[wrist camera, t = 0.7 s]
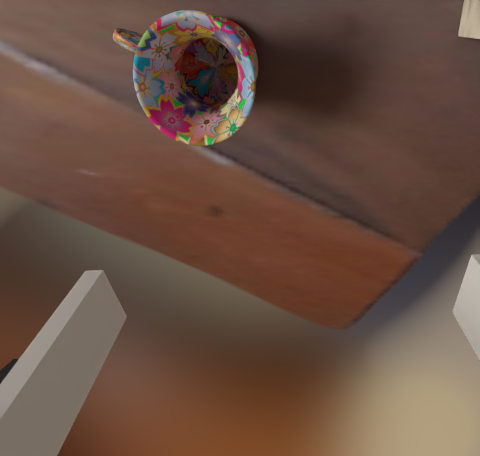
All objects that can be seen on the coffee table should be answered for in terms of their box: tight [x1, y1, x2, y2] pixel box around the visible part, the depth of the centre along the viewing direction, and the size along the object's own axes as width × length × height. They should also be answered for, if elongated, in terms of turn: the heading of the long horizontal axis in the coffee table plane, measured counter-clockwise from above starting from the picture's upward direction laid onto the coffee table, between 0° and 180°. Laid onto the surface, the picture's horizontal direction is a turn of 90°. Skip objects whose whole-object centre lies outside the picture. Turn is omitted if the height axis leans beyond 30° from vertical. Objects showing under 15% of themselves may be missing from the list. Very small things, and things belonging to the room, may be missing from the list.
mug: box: [113, 10, 258, 146], centre depth 28 cm, size 12×9×11 cm
